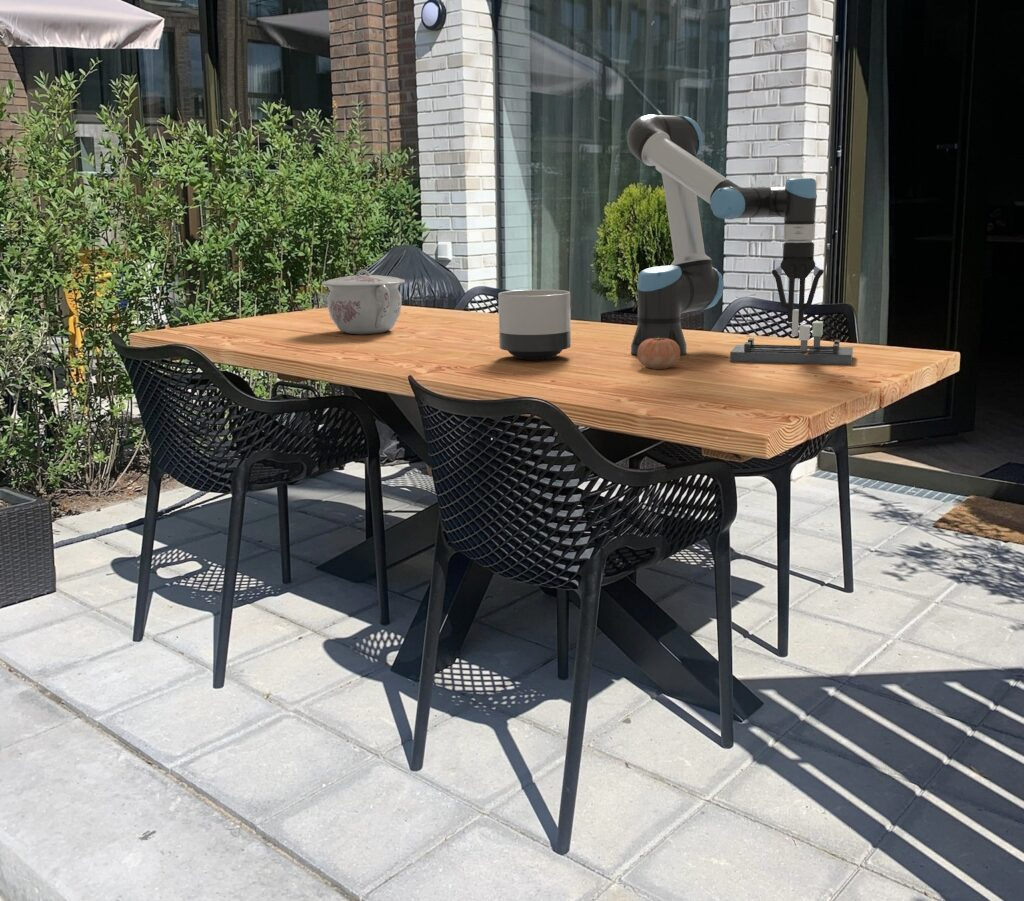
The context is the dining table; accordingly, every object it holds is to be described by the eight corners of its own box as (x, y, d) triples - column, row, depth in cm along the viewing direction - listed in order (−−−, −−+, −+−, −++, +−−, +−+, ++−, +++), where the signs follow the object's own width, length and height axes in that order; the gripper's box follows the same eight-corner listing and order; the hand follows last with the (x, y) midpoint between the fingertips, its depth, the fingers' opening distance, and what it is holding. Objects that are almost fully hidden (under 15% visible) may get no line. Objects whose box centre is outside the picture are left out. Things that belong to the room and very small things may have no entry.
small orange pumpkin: (669, 372, 265) (670, 340, 263) (629, 369, 271) (629, 338, 269) (687, 366, 274) (687, 335, 272) (648, 363, 280) (648, 333, 278)
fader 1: (798, 351, 275) (799, 326, 274) (799, 349, 279) (800, 324, 278) (808, 352, 275) (809, 326, 273) (809, 349, 278) (810, 324, 277)
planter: (579, 354, 299) (578, 289, 295) (559, 364, 282) (558, 296, 278) (513, 352, 306) (511, 289, 302) (489, 362, 288) (487, 295, 284)
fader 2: (811, 347, 282) (812, 322, 280) (812, 345, 286) (813, 321, 284) (821, 348, 281) (822, 323, 280) (821, 345, 285) (823, 321, 283)
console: (729, 362, 278) (729, 345, 277) (736, 353, 293) (737, 337, 292) (850, 366, 269) (851, 348, 268) (852, 356, 284) (853, 339, 283)
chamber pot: (338, 327, 374) (334, 266, 369) (415, 326, 370) (413, 265, 366) (312, 337, 347) (308, 272, 342) (396, 337, 343) (393, 271, 339)
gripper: (770, 242, 270) (767, 336, 275) (825, 242, 266) (820, 337, 271) (773, 240, 277) (770, 332, 282) (826, 240, 273) (821, 333, 278)
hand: (794, 335), depth 277 cm, fingers closed
